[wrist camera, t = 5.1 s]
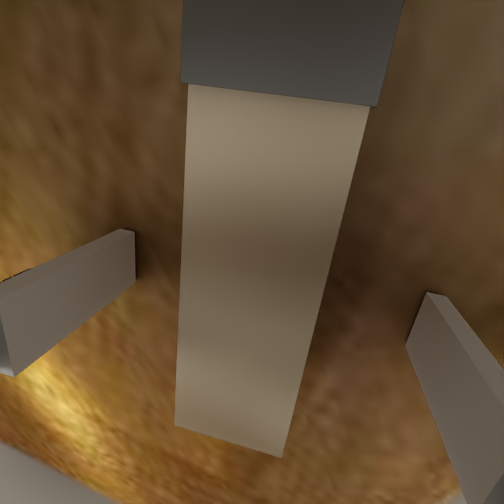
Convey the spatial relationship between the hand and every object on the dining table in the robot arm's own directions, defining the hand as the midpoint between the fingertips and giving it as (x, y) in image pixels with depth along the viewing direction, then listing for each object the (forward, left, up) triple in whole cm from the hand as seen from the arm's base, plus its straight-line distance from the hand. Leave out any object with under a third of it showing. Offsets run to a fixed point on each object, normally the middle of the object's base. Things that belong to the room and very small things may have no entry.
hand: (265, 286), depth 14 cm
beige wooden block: (0, +3, 0) cm, 3 cm away
